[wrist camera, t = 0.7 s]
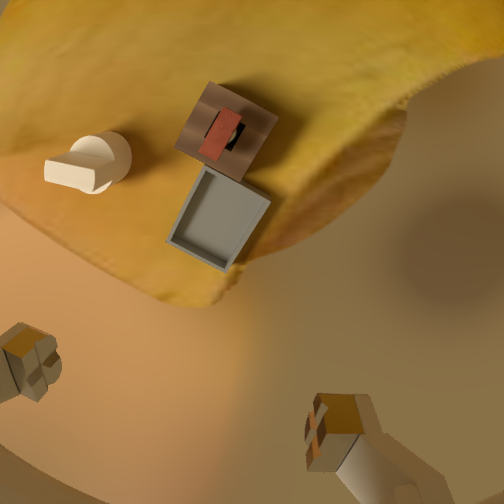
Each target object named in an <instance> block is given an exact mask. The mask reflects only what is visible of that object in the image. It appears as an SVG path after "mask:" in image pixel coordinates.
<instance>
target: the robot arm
mask: <svg viewBox="0 0 504 504" xmlns="http://www.w3.org/2000/svg"><path fill="white" fill-rule="evenodd" d="M56 348H57V342H56V339H55V337H53V336H52V335H50V334H48V333H46V332H43V331H41V330H38V329H36V328H34V327H32V326H29V325H27V324H25V323H17V324H16V325H14V326H13V327H12V328H10V329H9V330H8V331H6V332H5V333H4V334H2V335H1V336H0V403H2V402H4V401H7V400H9V399H11V398H13V397H16V396H18V395H20V394H22V395H24V396H26V397H28V398H30V399H32V400H34V401H36V402H39V400H40V399H41V398H42V397H43V396H44V394H45V393H46V392H47V391H48V385H50V384H53V383H55V382H56V381H57V379H58V378H59V376H60V373H61V370H62V363H61V359H60V356H59V355H58V354H57V352H56ZM313 406H314V410H312V411H311V412H309V414H308V417H307V420H306V424H305V443H306V444H307V445H308V446H309V448H308V450H307V452H306V463H307V471H310V472H336V474H337V475H338V477H339V478H340V479H341V480H342V482H343V483H344V484H345V485H346V486H347V488H348V489H349V490H350V491H351V492H352V494H353V495H354V496H355V497H356V498H357V500H358V501H359V502H360V503H361V504H455V503H454V501H453V498H452V495H451V493H450V490H449V488H448V485H447V483H446V480H445V478H444V476H443V475H442V474H440V473H439V472H438V471H436V470H435V469H434V468H433V467H431V466H430V465H428V464H427V463H426V462H424V461H423V460H422V459H421V458H419V457H418V456H417V455H415V454H414V453H412V452H411V451H410V450H409V449H407V448H406V447H405V446H403V445H402V444H401V443H399V442H398V441H397V440H395V439H394V438H393V437H392V436H391V435H389V434H388V433H383V432H382V429H381V426H380V423H379V420H378V418H377V415H376V412H375V409H374V406H373V403H372V401H371V398H370V396H369V395H368V394H332V393H317V394H316V396H315V398H314V401H313ZM0 504H109V503H106V502H103V501H101V500H99V499H97V498H94V497H92V496H90V495H87V494H85V493H83V492H81V491H79V490H77V489H74V488H72V487H70V486H68V485H66V484H64V483H63V482H61V481H59V480H57V479H55V478H53V477H51V476H49V475H48V474H46V473H44V472H42V471H41V470H39V469H37V468H36V467H34V466H32V465H31V464H29V463H27V462H26V461H24V460H23V459H21V458H20V457H18V456H17V455H15V454H14V453H12V452H11V451H9V450H8V449H6V448H5V447H4V446H2V445H1V444H0ZM474 504H504V490H503V491H501V492H499V493H496V494H494V495H492V496H490V497H488V498H486V499H483V500H481V501H479V502H476V503H474Z"/></svg>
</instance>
